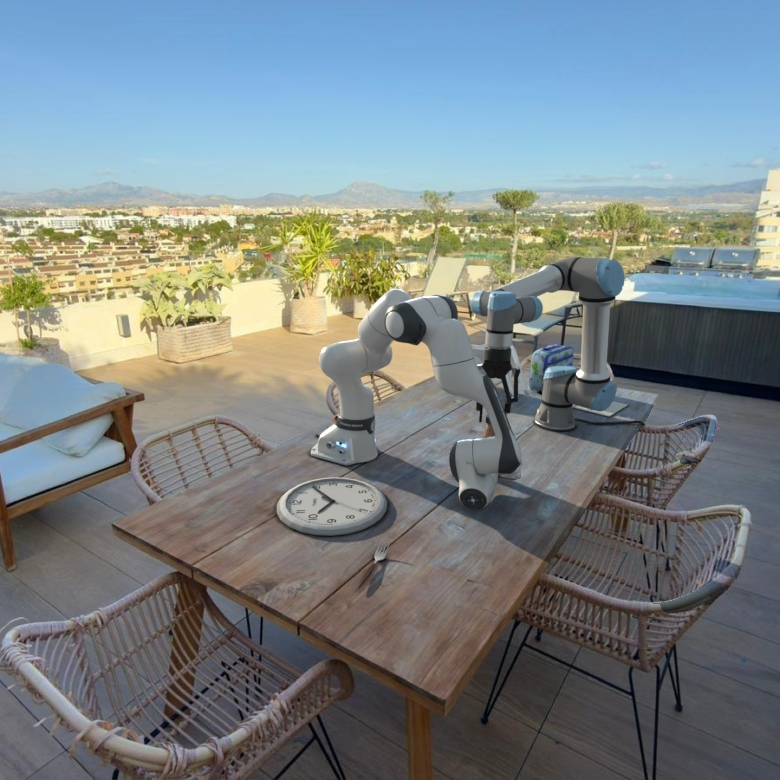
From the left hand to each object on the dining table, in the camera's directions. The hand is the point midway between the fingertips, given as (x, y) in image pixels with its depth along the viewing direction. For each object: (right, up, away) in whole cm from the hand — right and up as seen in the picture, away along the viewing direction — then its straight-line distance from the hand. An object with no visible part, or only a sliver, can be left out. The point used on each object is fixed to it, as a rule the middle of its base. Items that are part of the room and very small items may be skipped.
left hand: (489, 455), depth 161 cm
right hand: (0, +11, -4) cm, 11 cm away
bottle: (0, -6, +1) cm, 6 cm away
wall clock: (-46, -12, -18) cm, 51 cm away
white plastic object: (+11, +19, +82) cm, 85 cm away
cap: (0, +12, -5) cm, 13 cm away
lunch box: (+46, +20, +89) cm, 102 cm away
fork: (-35, -20, -44) cm, 60 cm away
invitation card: (+61, +13, +65) cm, 90 cm away
